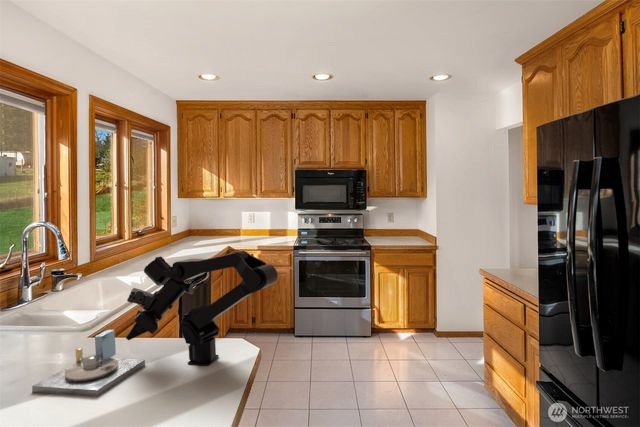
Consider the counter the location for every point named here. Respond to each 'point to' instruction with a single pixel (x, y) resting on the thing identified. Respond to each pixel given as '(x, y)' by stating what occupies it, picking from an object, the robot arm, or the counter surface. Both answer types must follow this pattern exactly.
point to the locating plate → (88, 387)
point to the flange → (96, 360)
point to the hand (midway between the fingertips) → (127, 338)
